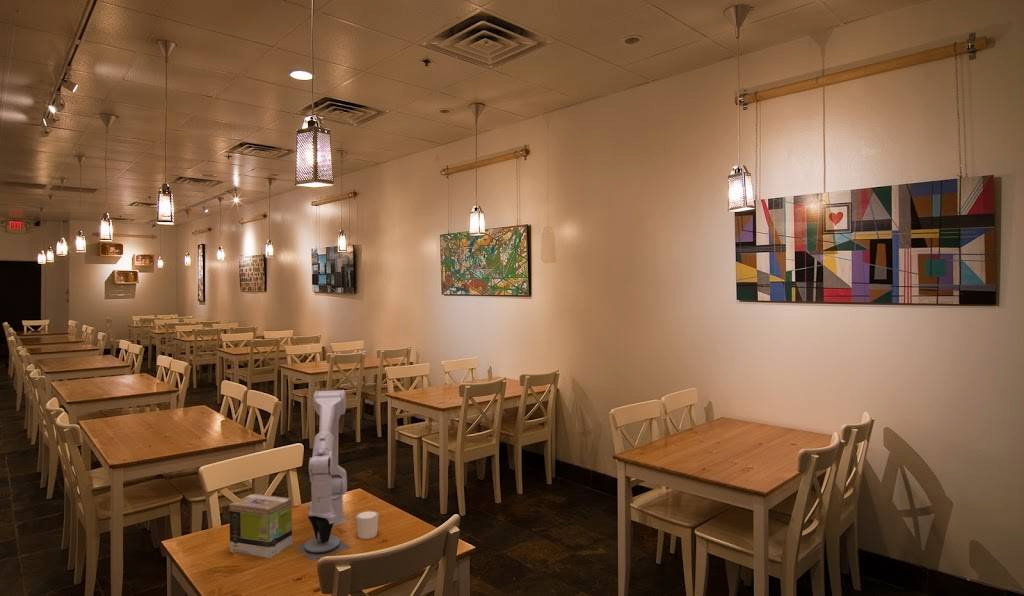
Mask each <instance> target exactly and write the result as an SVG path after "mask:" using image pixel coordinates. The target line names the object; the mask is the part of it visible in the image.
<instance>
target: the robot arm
mask: <svg viewBox="0 0 1024 596" xmlns="http://www.w3.org/2000/svg"><path fill="white" fill-rule="evenodd" d="M312 403H313V404H312V405H313V408H314V411H315V413H316V414H317V415H318V416H319V422H318V423H319V426H318V430H319V431H318V433H317V434H315V436H314V439H313V448H312V455H311V456H312V457H311V456H310V457H309V461H308V473H309V481H310V482H311V483H310V484H311V492H310V493H311V502H310V503H307V511H309V512H307V515H308V517H307V518H308V520H309V522H310V524H311V526H312V529H313V533H314V537H316V539H317V532H318V531H319V533H320V540H321V543H325V542H328V541H329V537H330V535H331V533H332V529H333V527H334V526H337V525H340V524H343V523H346V522H348V521H349V520H347V519H346V518H345V517H344V514H343V513H344V507H343V506H344V505H343V496H344V495H345V494H346V493H347V489H348V477H347V471H346V469H345V468H343V467H342V466H340V465H339V421H340V418H341V416H342V415H344V414H346V410H347V392H346V391H345V390H344V389H340V390H339V389H338V390H337V389H336V390H315V392H314V394H313V402H312Z"/></svg>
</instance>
